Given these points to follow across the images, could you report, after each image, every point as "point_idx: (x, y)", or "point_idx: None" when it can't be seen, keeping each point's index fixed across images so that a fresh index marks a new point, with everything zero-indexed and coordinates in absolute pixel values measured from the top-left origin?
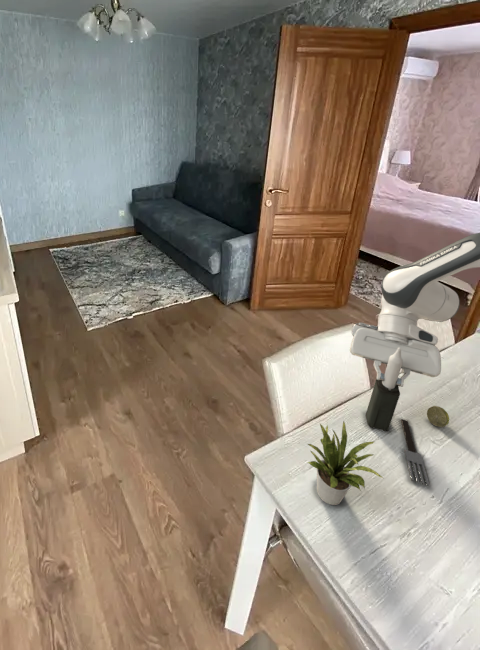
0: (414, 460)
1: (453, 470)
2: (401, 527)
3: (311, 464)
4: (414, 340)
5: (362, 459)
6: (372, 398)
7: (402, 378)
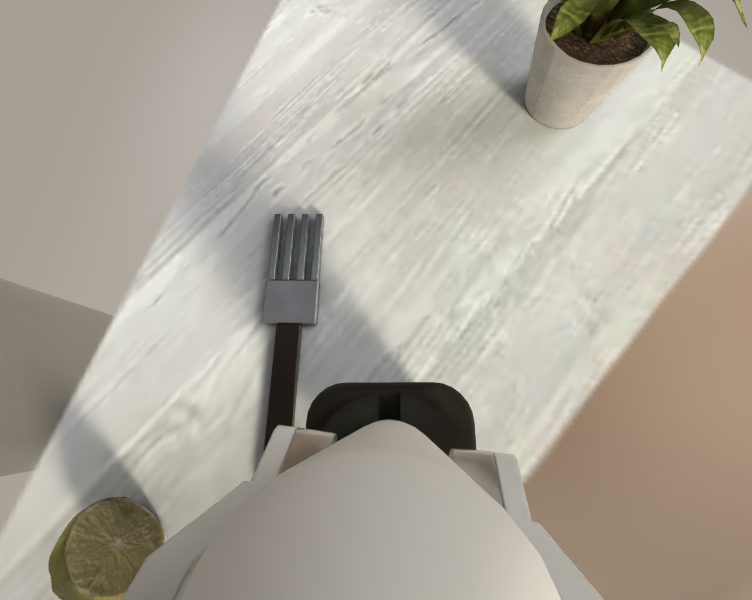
0: (292, 287)
1: (175, 305)
2: (380, 87)
3: None
4: None
5: None
6: None
7: None
